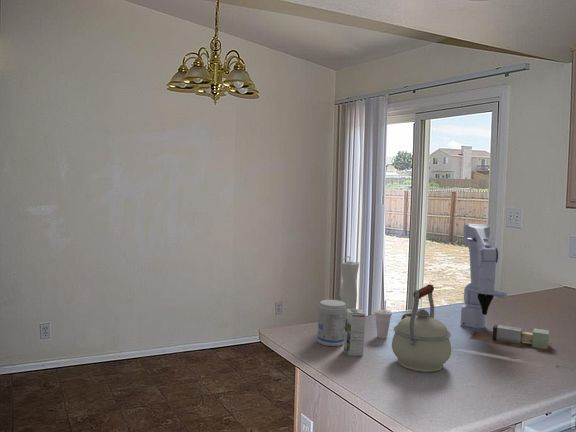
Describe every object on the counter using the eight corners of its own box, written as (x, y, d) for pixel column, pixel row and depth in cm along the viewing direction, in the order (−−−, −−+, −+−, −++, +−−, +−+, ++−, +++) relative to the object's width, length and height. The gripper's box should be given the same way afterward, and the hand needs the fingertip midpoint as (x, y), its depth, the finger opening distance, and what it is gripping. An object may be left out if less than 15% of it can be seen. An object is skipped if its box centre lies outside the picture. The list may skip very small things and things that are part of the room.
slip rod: (492, 338, 187) (493, 327, 187) (493, 335, 191) (494, 324, 190) (540, 346, 179) (541, 334, 179) (541, 343, 183) (542, 331, 183)
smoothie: (390, 340, 184) (392, 303, 184) (373, 338, 186) (374, 301, 185) (390, 335, 191) (392, 299, 190) (373, 333, 192) (375, 298, 191)
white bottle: (335, 322, 206) (338, 255, 205) (355, 323, 206) (358, 256, 204) (337, 328, 198) (340, 258, 196) (357, 329, 197) (360, 259, 196)
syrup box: (343, 350, 171) (344, 308, 170) (360, 350, 171) (361, 308, 171) (346, 356, 165) (348, 312, 164) (363, 356, 166) (365, 313, 165)
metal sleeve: (496, 340, 186) (497, 327, 186) (497, 337, 190) (498, 324, 190) (520, 344, 182) (520, 331, 182) (521, 341, 186) (521, 328, 186)
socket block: (532, 346, 180) (533, 331, 179) (533, 342, 185) (533, 328, 185) (547, 349, 177) (548, 334, 177) (548, 345, 182) (549, 330, 182)
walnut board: (469, 341, 187) (469, 338, 187) (474, 333, 198) (474, 331, 198) (550, 354, 174) (550, 352, 174) (551, 346, 185) (551, 343, 185)
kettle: (439, 381, 146) (444, 297, 144) (380, 367, 155) (384, 288, 154) (460, 358, 167) (464, 284, 165) (406, 347, 176) (410, 277, 175)
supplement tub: (313, 339, 182) (315, 299, 181) (337, 338, 185) (339, 298, 184) (324, 348, 173) (325, 306, 172) (348, 346, 176) (350, 304, 175)
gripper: (464, 278, 190) (462, 313, 191) (506, 282, 183) (503, 319, 184) (468, 275, 196) (466, 309, 197) (508, 280, 189) (506, 315, 190)
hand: (484, 314), depth 191 cm, fingers closed
